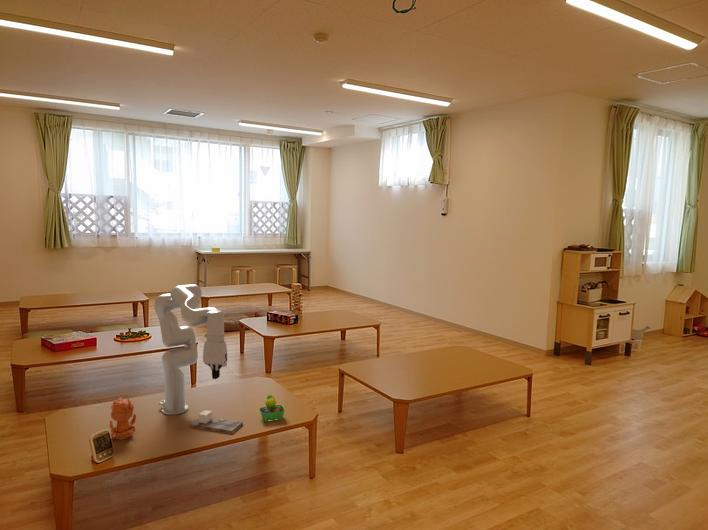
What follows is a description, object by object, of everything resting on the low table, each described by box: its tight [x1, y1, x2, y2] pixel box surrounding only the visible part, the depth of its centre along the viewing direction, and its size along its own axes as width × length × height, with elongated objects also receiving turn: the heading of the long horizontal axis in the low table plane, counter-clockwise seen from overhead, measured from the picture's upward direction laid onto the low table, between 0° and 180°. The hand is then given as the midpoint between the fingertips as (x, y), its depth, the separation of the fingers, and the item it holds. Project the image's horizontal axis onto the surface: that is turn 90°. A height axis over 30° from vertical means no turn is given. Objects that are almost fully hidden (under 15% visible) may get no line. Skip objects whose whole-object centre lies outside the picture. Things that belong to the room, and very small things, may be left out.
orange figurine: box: [109, 396, 137, 441], centre depth 211 cm, size 11×11×18 cm
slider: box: [198, 409, 213, 423], centre depth 225 cm, size 4×5×4 cm
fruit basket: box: [258, 394, 286, 422], centre depth 234 cm, size 11×9×11 cm
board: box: [189, 416, 244, 435], centre depth 224 cm, size 22×10×2 cm, turn 75°
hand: (215, 378), depth 212 cm, fingers closed
